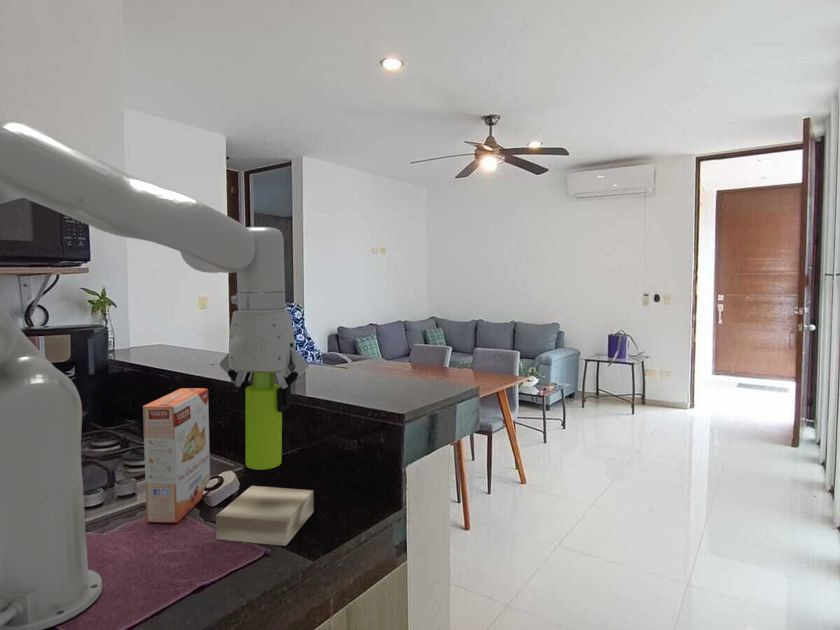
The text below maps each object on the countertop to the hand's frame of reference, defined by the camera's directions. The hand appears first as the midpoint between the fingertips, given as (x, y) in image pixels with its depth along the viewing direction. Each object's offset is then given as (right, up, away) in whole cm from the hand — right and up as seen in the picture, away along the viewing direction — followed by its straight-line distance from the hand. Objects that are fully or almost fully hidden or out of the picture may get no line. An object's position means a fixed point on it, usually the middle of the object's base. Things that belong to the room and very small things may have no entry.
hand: (265, 408), depth 89 cm
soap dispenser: (0, -10, +1) cm, 10 cm away
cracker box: (-18, -20, +9) cm, 28 cm away
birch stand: (0, -20, +2) cm, 20 cm away
